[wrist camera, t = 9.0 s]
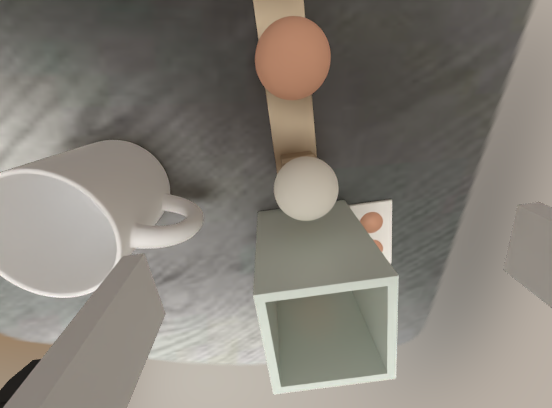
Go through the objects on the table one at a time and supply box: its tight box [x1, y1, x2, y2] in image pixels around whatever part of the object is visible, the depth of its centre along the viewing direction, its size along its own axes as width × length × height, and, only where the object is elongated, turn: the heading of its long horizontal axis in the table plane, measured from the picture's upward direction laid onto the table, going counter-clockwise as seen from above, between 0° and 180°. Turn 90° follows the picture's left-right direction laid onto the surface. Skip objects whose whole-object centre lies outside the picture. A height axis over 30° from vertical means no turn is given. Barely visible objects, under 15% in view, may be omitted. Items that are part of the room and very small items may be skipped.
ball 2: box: [274, 156, 339, 221], centre depth 20 cm, size 4×4×4 cm
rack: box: [253, 0, 317, 174], centre depth 21 cm, size 20×4×4 cm, turn 8°
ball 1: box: [255, 16, 331, 100], centre depth 17 cm, size 4×4×4 cm
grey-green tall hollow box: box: [253, 200, 399, 394], centre depth 23 cm, size 8×8×12 cm
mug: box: [0, 140, 204, 298], centre depth 22 cm, size 12×8×10 cm
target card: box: [349, 199, 392, 264], centre depth 29 cm, size 7×4×1 cm, turn 8°
